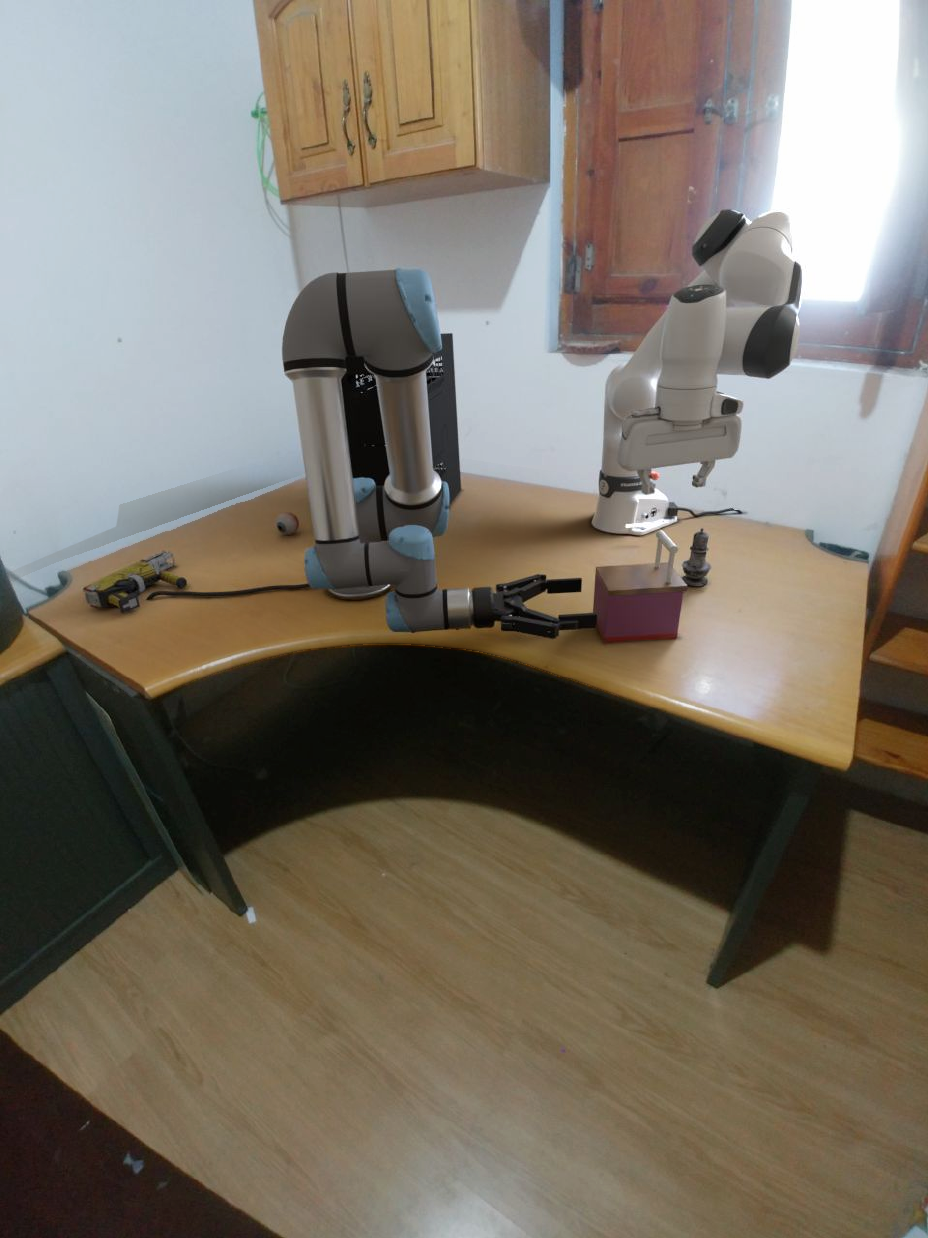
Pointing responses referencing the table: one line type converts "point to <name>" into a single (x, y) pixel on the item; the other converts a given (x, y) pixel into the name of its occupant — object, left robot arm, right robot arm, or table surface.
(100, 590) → the toy gun
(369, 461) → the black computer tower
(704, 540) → the pewter chess piece
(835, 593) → the table surface
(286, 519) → the eyeball
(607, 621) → the chest
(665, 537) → the lid
